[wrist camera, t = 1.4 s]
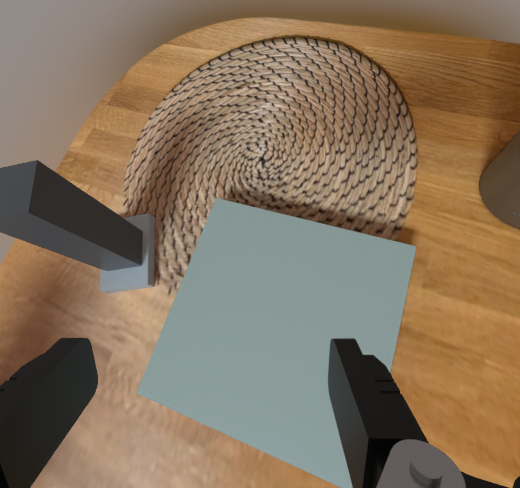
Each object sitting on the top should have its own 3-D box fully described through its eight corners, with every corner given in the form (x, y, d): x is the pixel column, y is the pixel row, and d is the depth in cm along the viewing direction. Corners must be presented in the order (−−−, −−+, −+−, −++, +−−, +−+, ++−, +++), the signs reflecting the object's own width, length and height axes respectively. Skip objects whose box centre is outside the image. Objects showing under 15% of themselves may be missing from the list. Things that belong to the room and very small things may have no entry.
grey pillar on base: (154, 286, 36) (33, 241, 20) (107, 293, 37) (-43, 254, 21) (155, 218, 39) (50, 133, 24) (112, 225, 40) (-16, 148, 24)
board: (222, 207, 38) (216, 197, 35) (408, 253, 32) (416, 246, 30) (149, 389, 32) (136, 393, 30) (359, 485, 26) (364, 498, 24)
